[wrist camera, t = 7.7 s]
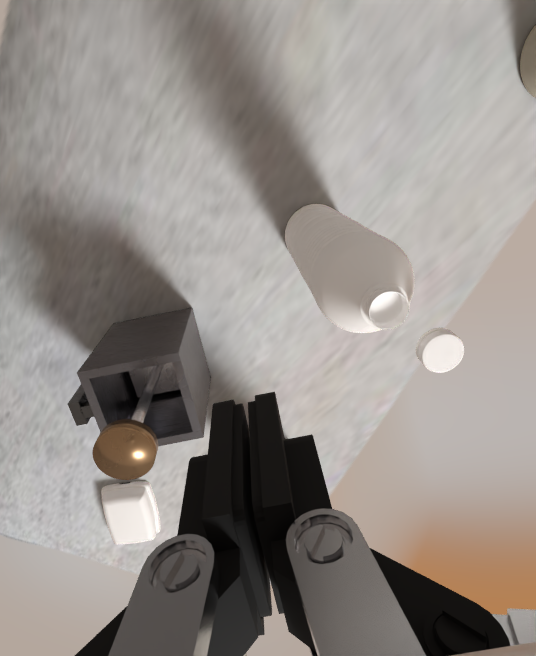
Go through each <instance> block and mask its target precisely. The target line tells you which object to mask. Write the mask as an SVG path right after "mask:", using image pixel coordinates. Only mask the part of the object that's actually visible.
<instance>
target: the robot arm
mask: <svg viewBox="0 0 536 656" xmlns="http://www.w3.org/2000/svg"><path fill="white" fill-rule="evenodd" d="M248 414H249V428H248V424H247V420H246V416H245V411H244V407H243V404H237V405H235V402H234V400H229V401H224V402H219V403H214V404H213V409H212V419H211V429H210V439H209V449H208V455H203V456H198V457H192V458H191V459H190V461H189V466H188V472H187V478H186V485H185V491H184V497H183V504H182V510H181V516H180V522H179V529H178V535H177V536H175V537H173V538H171V539H169V540H166V541H165V542H163V543H162V544H161V545H159V546H158V547H157V548H156V549H155V550H154V551H153V552H152V553H151V554H150V555H149V556H148V558H147V560H146V562H145V563H144V565H143V567H142V570H141V572H140V575H139V577H138V580H137V583H136V586H135V588H134V590H133V593H132V596H131V598H130V601H129V604H128V606H127V607H126V608H125V609H124V610H123V611H122V612H120V613H119V614H118V615H117V616H116V617H115V618H114V619H113V620H112V621H111V622H110V623H109V624H108V625H107V626H106V627H105V628H104V629H103V630H101V632H99V633H98V634H97V635H96V636H95V637H94V638H93V639H92V640H91V641H90V642H89V643H88V644H87V645H86V646H85V647H83V649H81V650H80V651H79V652H78V653H77V654H76V655H75V656H247V655H246V652H247V651H248V650H249V648H250V647H251V646H252V644H253V643H254V642H255V640H256V639H257V638H258V636H259V635H264V618H263V617H266V616H271V615H272V606H271V593H270V581H271V585H272V588H273V592H274V596H275V600H276V604H277V608H278V611H279V614H281V613H284V614H285V618H286V622H287V626H288V630H289V632H290V633H291V634H293V635H294V636H296V637H297V638H298V639H299V640H301V641H302V642H303V643H305V644H306V645H307V646H308V647H309V648H310V653H311V656H536V610H525V609H508V611H507V612H508V613H507V615H497V614H491V613H490V612H488V611H487V610H485V609H484V608H482V607H481V606H480V605H478V604H477V603H475V602H473V601H471V600H469V599H467V598H465V597H463V596H461V595H459V594H458V593H456V592H454V591H452V590H450V589H448V588H446V587H444V586H442V585H440V584H438V583H436V582H434V581H432V580H431V579H429V578H427V577H425V576H423V575H421V574H419V573H417V572H415V571H413V570H411V569H409V568H407V567H405V566H403V565H402V564H400V563H398V562H396V561H394V560H392V559H390V558H388V557H386V556H384V555H382V554H380V553H378V552H376V551H375V550H373V549H371V548H369V546H368V544H367V542H366V541H365V539H364V537H363V535H362V533H361V531H360V529H359V527H358V526H357V524H356V523H355V522H354V521H353V519H352V518H351V517H349V516H348V515H346V514H345V513H343V512H341V511H338V510H334V509H332V507H331V503H330V499H329V495H328V491H327V488H326V484H325V480H324V476H323V473H322V469H321V465H320V461H319V457H318V454H317V450H316V446H315V442H314V439H313V435H307V436H302V437H297V438H292V439H286V440H285V439H284V434H283V429H282V424H281V419H280V415H279V410H278V405H277V400H276V395H275V392H271V393H266V394H261V395H255V401H253V402H248ZM269 577H270V578H269Z"/></svg>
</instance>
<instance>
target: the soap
mask: <svg viewBox="0 0 536 656" xmlns="http://www.w3.org/2000/svg"><path fill="white" fill-rule="evenodd" d="M101 495H102V504H103V510H104V515H105V519H106V522H107V526H108V528H109V531H110V534H111V537H112V539H113V541H114V543H115V544H131V543H139V542H144V541H149V540H153V539H154V538H155V536H156V534H157V533H159V531H160V518H159V512H158V507H157V503H156V499H155V496H154V493H153V490H152V487H151V485H150V483H149V482H147V481H134V482H130V483H128V484H120V483H116V484H111V485H107V486H104V487H103V488H102V490H101ZM151 502H152V503H151Z"/></svg>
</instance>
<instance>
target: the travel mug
mask: <svg viewBox="0 0 536 656" xmlns="http://www.w3.org/2000/svg"><path fill="white" fill-rule="evenodd" d="M520 72H521V78H522V81H523V84H524V86H525V88H526V89H527V91H528V92H529V93H530V94H531V95H532V96H533V97H535V98H536V25H535V26H534V27H533V29H532V30H531V32H530V33H529V35H528V37H527V39H526V41H525V43H524V46H523V49H522V53H521V59H520Z"/></svg>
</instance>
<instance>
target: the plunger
mask: <svg viewBox="0 0 536 656" xmlns="http://www.w3.org/2000/svg"><path fill="white" fill-rule="evenodd" d="M129 374H130V377H131V380H132V382H133V385H134V388H135V391H136V394H137V397H140V400H139V402H138V404H137V407H136V409H135V412H134V414H133V417H132V419H121V420H116V421H113V422H111V423H109V424H108V425H106V426H105V427H104V428H103V430H102V431H101V433H100V435H99V437H98V439H97V441H96V443H95V445H94V448H93V459H94V461H95V463H96V465H97V467H98V468H99V469H100V470H101V471H102V472H103V473H105V474H106V475H108V476H110V477H113V478H116V479H121V480H131V479H136V478H139V477H141V476H143V475H145V474H146V473H147V472H148V471H149V470H150V469H151V468H152V466H153V464H154V461H155V458H156V454H157V450H158V440H157V437H156V435H155V433H154V432H153V431H152V429H151V428H150V427H148V426H147V425H145V424H144V423H143V421H144V418H145V416H146V413H147V410H148V407H149V404H150V402H151V399H152V396H153V394H158V393H163V392H168V391H173V390H178V389H180V387H179V384H178V381H177V377H176V374H175V371H174V367H173V364H172V362H171V363H166V364H161V365H156V366H151V367H146V368H141V369H136V370H131V371H129Z"/></svg>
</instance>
